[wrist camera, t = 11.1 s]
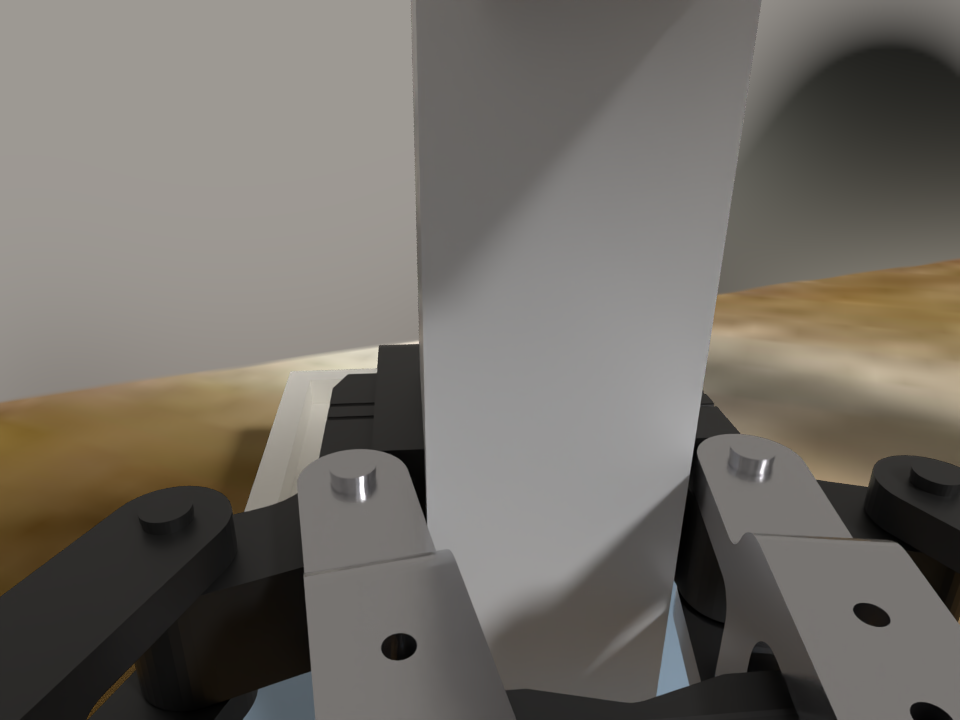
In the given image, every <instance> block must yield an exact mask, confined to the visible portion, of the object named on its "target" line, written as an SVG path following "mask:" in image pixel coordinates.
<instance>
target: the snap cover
mask: <svg viewBox="0 0 960 720" xmlns="http://www.w3.org/2000/svg"><path fill="white" fill-rule="evenodd" d="M760 7H761V0H411V22H412V65H413V103H414V104H413V105H414V147H415V187H416V229H417V269H418V308H419V309H418V311H419V352H420V381H421V398H422V416H423V433H424V453H425V497H426V523H427V526H428V529H429V532H430V535H431V538H432V541H433V544H434V546H435V549H436V551H438V550H444V549H450V551H451V552H452V553H453V555H454V557H455V560H456V562H457V565H458V567H459V570H460V573H461V575H462V578H463V581H464V583H465V586H466V588H467V591H468V594H469V596H470V599H471V602H472V604H473V607H474V609H475V612H476V615H477V617H478V620H479V623H480V625H481V628H482V631H483V633H484V636H485V638H486V641H487V644H488V646H489V649H490V652H491V654H492V657H493V660H494V662H495V665H496V667H497V670H498V673H499V675H500V678H501V681H502V683H503V686H504V689H505V690H515V689H533V690H540V691H547V692H554V693H561V694H568V695H575V696H582V697H590V698H597V699H604V700H611V701H618V702H627V703H634V702H641V701H645V700H648V699H651V698H654V697H657V696H660V695H663V694H666V693H669V692H672V691H675V690H677V689H680V688H683V687H686V686H689V682H688V678H687V674H686V669H685V665H684V661H683V657H682V652H681V648H680V644H679V640H678V635H677V631H676V627H675V623H674V618H673V606H674V599H675V593H676V586H677V585H676V583H675V581H674V576H675V569H676V562H677V556H678V549H679V543H680V536H681V529H682V523H683V516H684V509H685V503H686V496H687V490H688V483H689V476H690V470H691V463H692V457H693V450H694V443H695V437H696V430H697V423H698V417H699V410H700V404H701V397H702V390H703V384H704V377H705V371H706V364H707V357H708V351H709V344H710V337H711V331H712V324H713V318H714V311H715V304H716V298H717V291H718V284H719V278H720V271H721V264H722V258H723V251H724V244H725V238H726V232H727V225H728V218H729V212H730V205H731V199H732V191H733V185H734V179H735V172H736V165H737V159H738V152H739V146H740V139H741V132H742V126H743V119H744V113H745V106H746V99H747V92H748V86H749V79H750V73H751V66H752V59H753V53H754V46H755V40H756V33H757V26H758V19H759V13H760ZM243 720H315V709H314V697H313V685H312V673H311V671H310V672H308V673H305V674H302V675H299V676H296V677H293V678H290V679H287V680H284V681H281V682H278V683H275V684H272V685H269V686H266V687H263V688H261V689H258V693H257V697H256V699H255V702H254V704H253V706H252V707H251V709H250V710H249V712H248V713H247V715H246V716H245V717H244V719H243Z"/></svg>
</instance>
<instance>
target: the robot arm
mask: <svg viewBox="0 0 960 720" xmlns="http://www.w3.org/2000/svg"><path fill="white" fill-rule="evenodd" d="M297 491H298V493H297V494H295V495H293V496H292V497H290V498H288V499H286V500H284V501H281V502H279V503H276V504H273V505H270V506H266V507H263V508H259V509H255V510H251V511H246V512H242V513H238V514H234V515H233V513H232V507H231V504H230V501H229V500H228V499H227V497H226V496H224V495H223V494H222V493H220V492H218V491H216V490H213V489H210V488H206V487H199V486H179V487H172V488H166V489H162V490H157V491H154V492H151V493H148V494H145V495H143V496H140V497H138V498H136V499H134V500H132V501H130V502H128V503H126V504H125V505H123V506H122V507H120V508H119V509H117V510H116V511H115V512H113V513H112V514H111V515H109V516H108V517H107V518H105V519H104V520H103V521H101V522H100V523H99V524H97V525H96V526H95V527H93V528H92V529H91V530H89V531H88V532H87V533H85V534H84V535H83V536H81V537H80V538H78V539H77V540H76V541H74V542H73V543H72V544H70V545H69V546H68V547H66V548H65V549H64V550H62V551H61V552H60V553H58V554H57V555H56V556H54V557H53V558H52V559H50V560H49V561H48V562H46V563H45V564H44V565H42V566H41V567H40V568H38V569H37V570H36V571H34V572H33V573H32V574H30V575H29V576H28V577H26V578H25V579H23V580H22V581H21V582H19V583H18V584H17V585H15V586H14V587H13V588H11V589H10V590H9V591H7V592H6V593H5V594H3V595H2V596H1V597H0V720H86V719H87V717H88V715H89V713H90V711H91V710H92V708H93V707H94V705H95V704H96V703H97V701H98V700H99V699H100V698H101V697H102V696H103V694H104V693H105V692H106V691H107V690H108V689H109V688H110V687H111V686H112V685H113V684H114V683H115V682H116V681H117V680H118V679H119V678H120V677H121V676H122V675H123V674H124V673H125V672H126V671H127V670H128V669H129V668H130V667H131V666H132V665H133V664H134V663H135V667H136V671H135V672H134V673H133V674H132V675H131V676H130V677H129V678H128V679H127V680H126V681H125V682H124V683H123V684H122V685H121V686H120V687H119V688H118V689H117V690H116V691H115V692H114V693H113V694H112V695H111V696H110V697H109V699H108V700H107V701H106V702H105V703H104V704H103V705H102V706H101V707H100V708H99V709H98V710H97V711H96V712H95V713H94V714H93V715H92V716H91V717H90V718H89V719H88V720H243V719H244V717H245V716H246V715H247V713H248V712H249V710H250V709H251V707H252V706H253V704H254V702H255V699H256V697H257V693H258V689H261V688H263V687H266V686H269V685H272V684H275V683H278V682H281V681H284V680H287V679H290V678H293V677H296V676H299V675H302V674H305V673H308V672H310V671H311V673H312V685H313V697H314V709H315V720H960V625H959V624H958V620H959V618H960V467H957V466H955V465H952V464H949V463H946V462H943V461H939V460H935V459H931V458H926V457H919V456H908V455H901V456H891V457H887V458H883V459H881V460H879V461H878V462H877V463H876V464H875V465H874V468H873V471H872V475H871V479H870V483H869V486H868V487H864V486H857V485H849V484H842V483H835V482H827V481H821V480H816V479H815V478H814V476H813V475H812V473H811V472H810V470H809V468H808V467H807V465H806V464H805V462H804V461H803V460H802V458H801V457H800V456H798V455H797V454H796V453H795V452H793V451H792V450H790V449H789V448H787V447H785V446H783V445H781V444H779V443H777V442H774V441H771V440H768V439H765V438H761V437H757V436H751V435H744V434H740V433H739V431H738V430H737V429H736V428H735V427H734V426H733V425H732V423H731V422H730V421H729V420H728V419H727V418H726V417H725V415H724V414H723V413H722V412H721V411H720V410H719V408H718V407H717V406H714V403H713V402H712V400H711V399H710V398H709V397H708V396H707V395H706V394H703V390H702V397H701V404H700V410H699V417H698V423H697V430H696V437H695V443H694V450H693V457H692V463H691V470H690V476H689V483H688V490H687V496H686V503H685V509H684V516H683V523H682V529H681V536H680V543H679V549H678V556H677V562H676V569H675V576H674V581H675V583H676V585H677V586H676V593H675V599H674V606H673V618H674V623H675V627H676V631H677V635H678V640H679V644H680V648H681V652H682V657H683V661H684V665H685V669H686V674H687V678H688V682H689V686H686V687H683V688H680V689H677V690H675V691H672V692H669V693H666V694H663V695H660V696H657V697H654V698H651V699H648V700H645V701H641V702H634V703H627V702H618V701H611V700H604V699H597V698H590V697H582V696H575V695H568V694H561V693H554V692H547V691H540V690H533V689H515V690H505V689H504V686H503V683H502V681H501V678H500V675H499V673H498V670H497V667H496V665H495V662H494V660H493V657H492V654H491V652H490V649H489V646H488V644H487V641H486V638H485V636H484V633H483V631H482V628H481V625H480V623H479V620H478V617H477V615H476V612H475V609H474V607H473V604H472V602H471V599H470V596H469V594H468V591H467V588H466V586H465V583H464V581H463V578H462V575H461V573H460V570H459V567H458V565H457V562H456V560H455V557H454V555H453V553H452V552H451V551H450V549H444V550H438V551H436V549H435V546H434V544H433V541H432V538H431V535H430V532H429V529H428V526H427V523H426V497H425V453H424V433H423V416H422V398H421V381H420V352H419V344H408V345H379V352H378V365H377V373H366V374H348V375H347V376H345V377H344V378H343V379H342V380H341V381H340V382H339V383H338V384H337V385H336V386H335V387H333V389H332V394H331V399H330V407H329V410H328V415H327V420H326V425H325V430H324V435H323V440H322V445H321V450H320V455H319V459H317V460H315V461H313V462H312V463H310V464H309V465H308V466H307V467H305V468H304V469H303V471H302V472H301V473H300V475H299V477H298V480H297Z"/></svg>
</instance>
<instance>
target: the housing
mask: <svg viewBox="0 0 960 720" xmlns="http://www.w3.org/2000/svg"><path fill="white" fill-rule="evenodd" d="M366 373H377V368H375V369H346V370H317V371H291V372H290V375H289V378H288V381H287V384H286V387H285V390H284V393H283V396H282V399H281V402H280V405H279V408H278V411H277V414H276V417H275V420H274V423H273V426H272V429H271V432H270V435H269V438H268V441H267V444H266V448H265V451H264V454H263V457H262V460H261V463H260V466H259V469H258V472H257V475H256V478H255V481H254V484H253V487H252V490H251V493H250V496H249V499H248V502H247V505H246V508H245V511H244V512H246V511H251V510H255V509H259V508H263V507H266V506H270V505H273V504H276V503H279V502H281V501H284V500H286V499H288V498H290V497H292V496H293V495H295V494H297V493H298V491H297V480H298V477H299V475H300V473H301V472H302V471H303V469H304V468H305V467H307V466H308V465H309V464H310V463H312V462H313V461H315V460H317V459H319V455H320V450H321V445H322V440H323V435H324V430H325V425H326V420H327V415H328V410H329V407H330V399H331V394H332V389H333V387H335V386H336V385H337V384H338V383H339V382H340V381H341V380H342V379H343V378H344V377H345V376H347V375H348V374H366Z"/></svg>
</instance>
